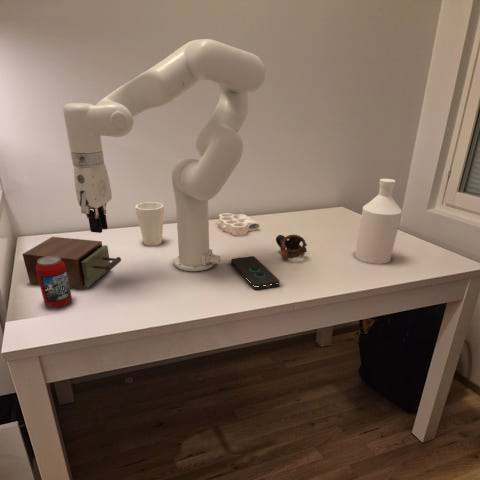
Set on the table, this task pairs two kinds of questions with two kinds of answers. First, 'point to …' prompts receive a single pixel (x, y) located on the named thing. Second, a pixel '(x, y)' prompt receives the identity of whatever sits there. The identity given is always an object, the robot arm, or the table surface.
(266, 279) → the black flat slab
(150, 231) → the foam cup
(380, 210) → the bottle
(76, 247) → the cabinet
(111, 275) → the table surface
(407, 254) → the table surface
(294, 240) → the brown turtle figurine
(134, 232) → the table surface
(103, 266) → the drawer
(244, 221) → the white multi well tray
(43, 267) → the beverage can
